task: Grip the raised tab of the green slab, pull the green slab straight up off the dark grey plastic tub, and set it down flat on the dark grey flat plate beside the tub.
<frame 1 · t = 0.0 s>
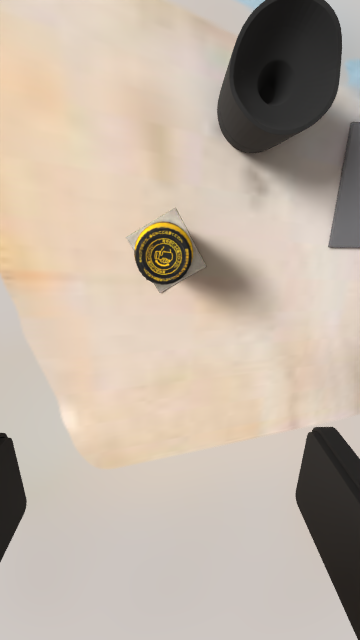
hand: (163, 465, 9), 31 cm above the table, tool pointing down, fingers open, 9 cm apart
pen holder: (253, 111, 33), on the table
condiment: (167, 251, 38), on the table
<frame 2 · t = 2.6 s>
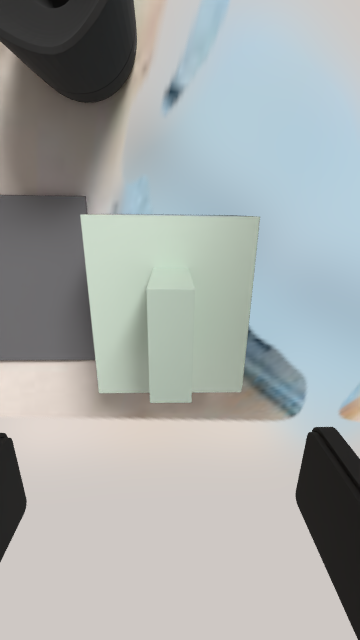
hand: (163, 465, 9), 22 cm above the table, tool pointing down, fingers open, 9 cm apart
dark grey flat plate: (25, 284, 29), on the table
pen holder: (83, 40, 23), on the table
green slab: (170, 304, 24), point 6 cm above the table, touching tub
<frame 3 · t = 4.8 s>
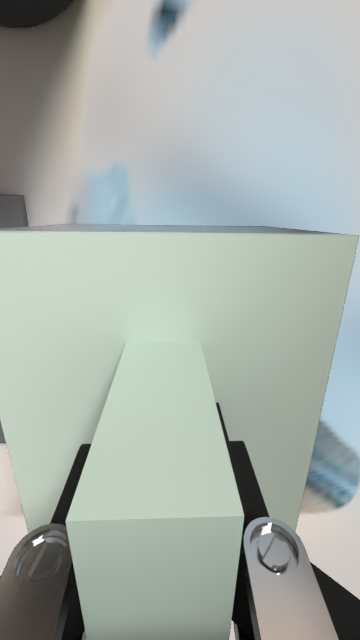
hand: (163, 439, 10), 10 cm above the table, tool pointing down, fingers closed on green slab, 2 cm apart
tub: (166, 334, 19), on the table
green slab: (164, 388, 13), point 7 cm above the table, touching gripper, tub
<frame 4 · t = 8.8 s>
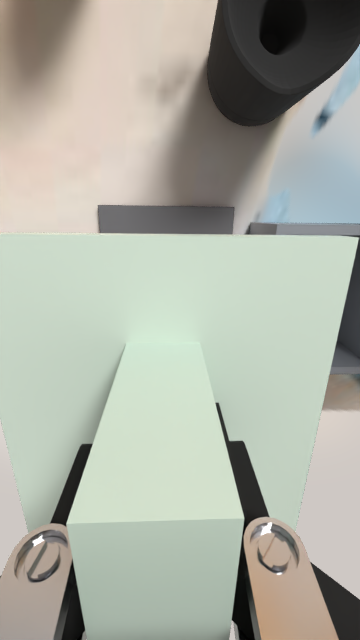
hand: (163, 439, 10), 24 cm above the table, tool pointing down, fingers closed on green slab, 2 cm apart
tub: (295, 286, 33), on the table
dark grey flat plate: (167, 286, 33), on the table
pen holder: (252, 74, 26), on the table
green slab: (164, 389, 13), point 21 cm above the table, touching gripper
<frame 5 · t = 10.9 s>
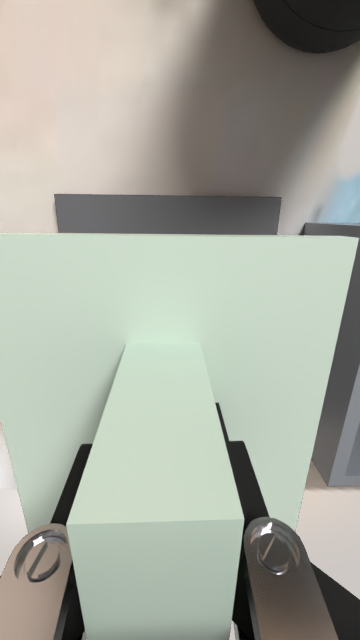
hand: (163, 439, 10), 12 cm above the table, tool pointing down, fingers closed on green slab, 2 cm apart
dark grey flat plate: (169, 321, 21), on the table
green slab: (164, 389, 13), point 8 cm above the table, touching gripper
when the fingers open (5 cm above the table, at t = 12.8 s): green slab drops 1 cm, resting on dark grey flat plate.
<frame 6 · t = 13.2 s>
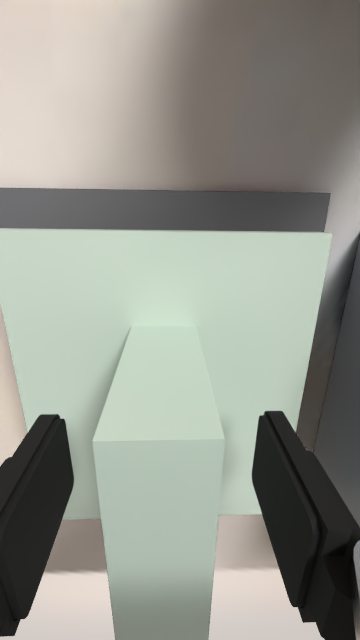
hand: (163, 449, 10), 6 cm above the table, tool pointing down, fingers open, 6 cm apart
dark grey flat plate: (165, 367, 15), on the table
green slab: (165, 372, 15), resting on dark grey flat plate
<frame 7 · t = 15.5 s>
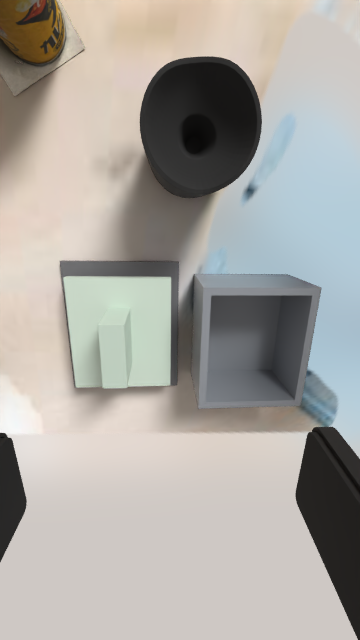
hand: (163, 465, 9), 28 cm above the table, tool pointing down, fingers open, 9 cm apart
tub: (237, 326, 38), on the table
dark grey flat plate: (123, 327, 37), on the table
pen holder: (188, 156, 32), on the table
green slab: (123, 328, 37), resting on dark grey flat plate
condiment: (27, 33, 27), on the table
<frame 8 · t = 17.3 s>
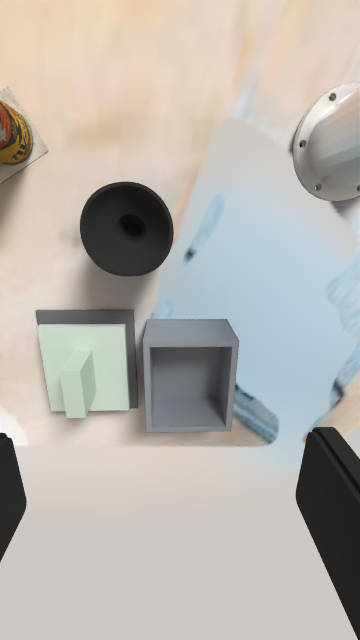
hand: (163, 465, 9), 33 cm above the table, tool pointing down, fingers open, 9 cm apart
tub: (186, 360, 45), on the table
dark grey flat plate: (91, 361, 45), on the table
pen holder: (137, 228, 38), on the table
green slab: (90, 363, 44), resting on dark grey flat plate
condiment: (2, 140, 34), on the table
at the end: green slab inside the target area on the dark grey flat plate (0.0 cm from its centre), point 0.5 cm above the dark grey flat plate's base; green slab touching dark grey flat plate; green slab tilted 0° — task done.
